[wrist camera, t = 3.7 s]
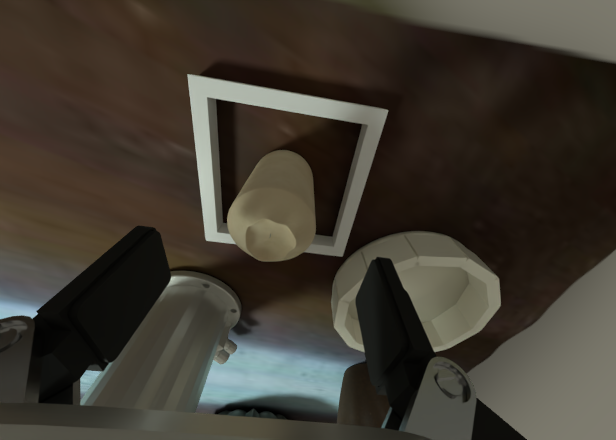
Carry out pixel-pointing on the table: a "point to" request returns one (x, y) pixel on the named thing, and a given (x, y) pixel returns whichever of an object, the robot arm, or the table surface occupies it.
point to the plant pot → (361, 400)
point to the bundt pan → (253, 414)
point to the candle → (275, 209)
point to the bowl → (422, 286)
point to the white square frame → (212, 88)
